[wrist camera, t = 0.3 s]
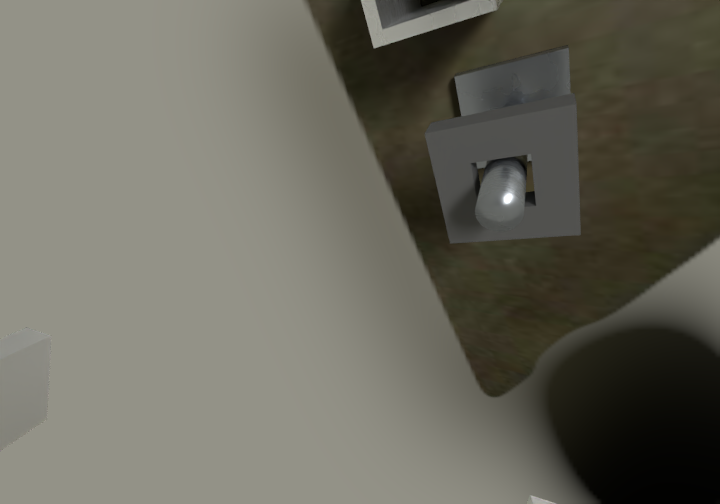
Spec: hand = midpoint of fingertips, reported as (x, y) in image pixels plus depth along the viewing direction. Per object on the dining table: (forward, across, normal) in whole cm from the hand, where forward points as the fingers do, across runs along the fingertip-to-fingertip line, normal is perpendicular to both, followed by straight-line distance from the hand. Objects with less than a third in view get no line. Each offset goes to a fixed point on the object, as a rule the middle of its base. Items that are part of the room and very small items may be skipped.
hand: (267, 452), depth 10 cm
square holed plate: (+17, +7, +9) cm, 20 cm away
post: (+27, +8, +14) cm, 31 cm away
